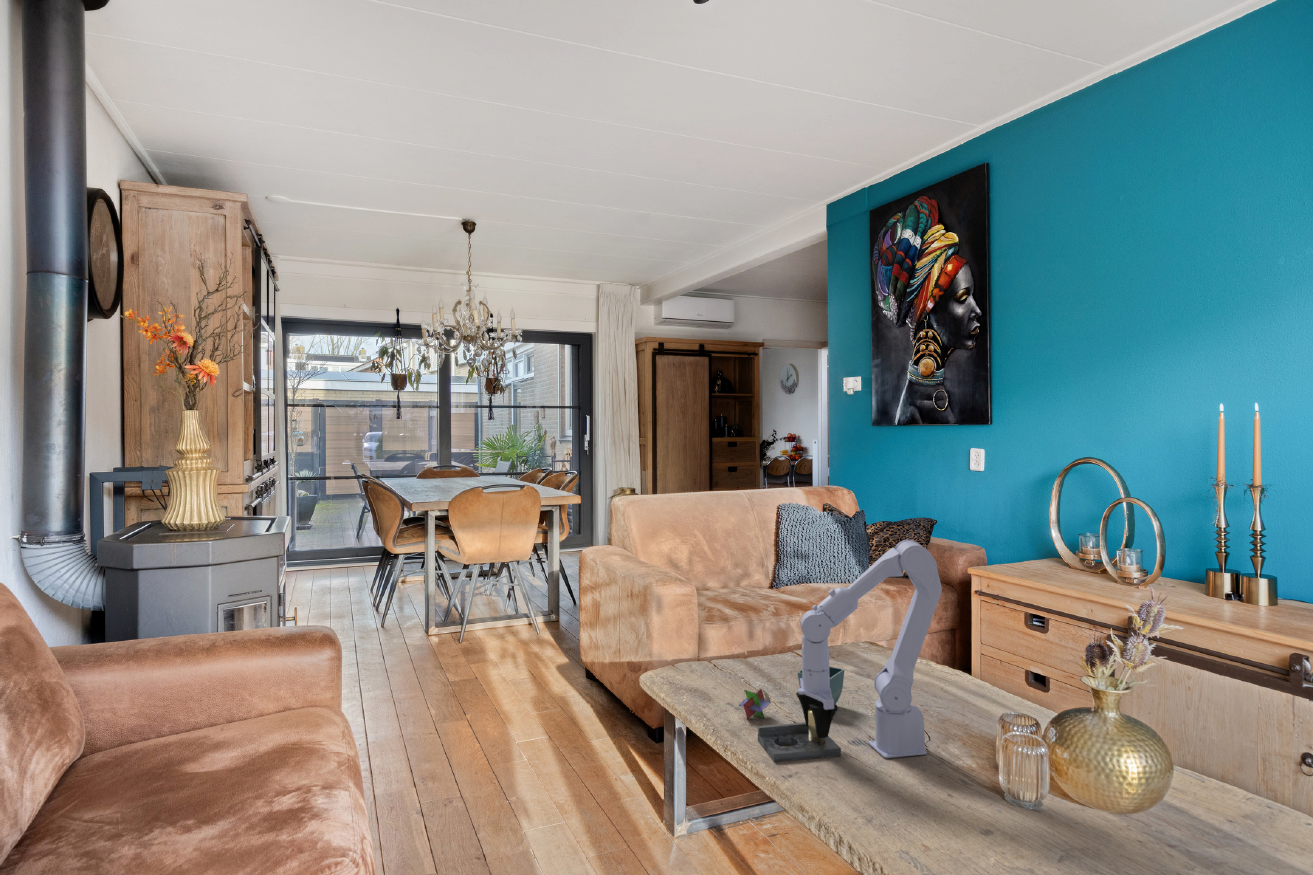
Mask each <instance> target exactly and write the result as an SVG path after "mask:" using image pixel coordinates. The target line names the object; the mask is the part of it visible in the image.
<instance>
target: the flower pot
mask: <svg viewBox="0 0 1313 875" xmlns="http://www.w3.org/2000/svg"><path fill="white" fill-rule="evenodd" d="M829 676H830V689H831V694H832V698H833V699H834V704H836V705H837V703H838V701H839V700H840V698H841V694H842V692H843V687H844V678H845V669H844V668H840V667H833V666H829ZM800 678H802V669H801V670H798V671H797V679H798V685H799V688H801V687H800Z"/></svg>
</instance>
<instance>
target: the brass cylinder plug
mask: <svg viewBox="0 0 1313 875" xmlns="http://www.w3.org/2000/svg"><path fill="white" fill-rule="evenodd" d="M808 736H809V740H810V741H813V742H824V741H825V740H826V738H818V737H817V733H816V727H815V720H814V716H813V713H812V711H811V709H809V710H808Z"/></svg>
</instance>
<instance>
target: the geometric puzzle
mask: <svg viewBox="0 0 1313 875" xmlns="http://www.w3.org/2000/svg"><path fill="white" fill-rule="evenodd" d="M743 690H744V691H743V692H742V694H745V695H746V698H744V699H743V701H741V702H739V703H738V706H739V707H740V709H741V711H742V713H744V714H745V717H746V720H751V719H752V718H754V717H755V716H757V715H758V716H757V717H760V719H766V716H765V713H764V712H763V711H764V710H765V709H766V708H767V707H768V706H770V704H771V703H772V701H771V697H770V695H769V693H767V691H765V690H764V689H763V688H758V690H757V691H756V692H755V691H754V692H752V691H750V689H748V690H747V689H743ZM742 709H744V711H745V712H744V711H743V710H742Z"/></svg>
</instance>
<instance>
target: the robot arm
mask: <svg viewBox="0 0 1313 875" xmlns="http://www.w3.org/2000/svg"><path fill="white" fill-rule="evenodd" d="M938 570H939V569H938V562H937V561H936V560H935V558H934V556H933V555H932V553H930V551H929V550H928V549H927V548H926V547H924V546H922V545H921V544H920V543H919V542H917V541H915V540H913V539H904V540H901V541H900V542H897V544H896V546H894V547H892V548H889V549H888V550H887V551H886V552H885V553H884V554H882V555H881V557H879V558H878V559H877V560H876V561H875V562H874V563H873V564H871V566H869V568H867V569H866V570H865V571H864V572H863V573H862V574H861V575H860V576H859V577H857V578H856V580H854V581H853V582H852V583H851V584H850V585H849V586H846V587H843V586H838V587H837V588H835V589H834V588H831V589H830V590H829V591H828V594H829V595H827V596H826V598H824V599H823V600H821V601H820V602H819V603H818V604H813V606H812V610H808V611H806V612H805V613H804V614H803V615H802V617H801V620H800V621H799V623H800V628H801V631H802V637H801V643H802V645H801V670H802V678H800V686H799V688H797V691H796V693H795V694H796V697H797V698H798V701H799V702H800V706H801V709H802V712H803V717H804V721H805V722H806V725H807V727H808V710H809V709H811V711H812V713H813V716H814V720H815V727H816V733H817V737H818V738H827V737H828V736H829V734H830V729H831V725H832V721H833V719H834V717H835V715H836V713H837V711H838V709H839V708H838V705H837V703H836V704H834V699H833V698H832V694H831V689H830V676H829V667H830V646H829V644H828V643H829V642H828V640H829V639H828V638H829V637H830V635H831V629H833V628H836V627H837V626H838V625H839V624H841V623H842V622H843V621H844V620H846V619H847V618H848V617H849V616H850V615H851V614H852V613H854V612H855V611H856V610H857V609H858V607H859V606H858V604H859V603H858V602H859V600H860V599H861V598H862V597H863V596H865V595H866V594H868V593H869V592H871V591H872V590H873V589H874V588H875V587H876V586H878V585H879V584H881V583H882V582H883V581H885V580H886V579H887V578H893V577H903V576H904V573H903V572H902V571H904V572H905V573H906V574H907V575H908V578H909V580H910V581H911V584H912V585H913V586H914V591H913V594H912V597H911V600H910V602H909V606H908V608H907V611H906V614H905V616H904V619H903V622H902V625H901V628H900V631H899V633H898V636H897V638H896V641H895V644H894V647H893V650H892V652H891V655H890V657H889V659H887V661H885V663H884V667H883V668H882V670H880V672H878V673H877V675H876V676H875V678H874V683H873V684H874V689H875V691H876V692H877V694H878V699H876V701H875V702H874V710H875V711H874V712H875V715H874V717H875V719H874V721H875V740H869V741H868V745H869V746H871V748H873V749H874V750H875V751H876V752H877V753H879V755H881V757H883V758H885V759H890V758H891V759H892V758H894V759H895V758H900V757H901V758H902V757H903V758H904V757H911V756H912V757H913V756H922V755H923V756H924V755H927V754H928V753H927V751H926V745H925V744H926V742H925V740H926V738H925V736H926V735H925V731H926V730H925V718H924V716H923V713H922V711H921V709H920V708H919V707H918V706H917V705H914V704H913V705H911V704H912V700H913V697H912V687H913V684H914V669H915V666H916V664H917V662H918V658H919V655H920V653H921V650H922V647H923V645H924V642H925V640H926V636H927V633H928V631H929V628H930V626H931V623H932V619H933V618H934V614H935V613H936V612H935V611H936V609H937V607H938V603H939V600H940V598H941V595H942V591H943V587H942V584H941V579H940V575H939V572H938ZM800 687H801V688H800Z"/></svg>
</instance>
